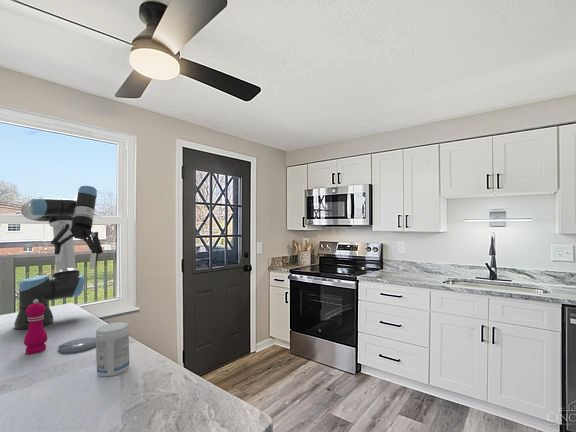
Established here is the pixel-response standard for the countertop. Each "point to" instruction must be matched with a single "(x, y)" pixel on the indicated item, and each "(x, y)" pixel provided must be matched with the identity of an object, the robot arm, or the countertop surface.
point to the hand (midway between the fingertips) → (75, 265)
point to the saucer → (77, 345)
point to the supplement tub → (112, 349)
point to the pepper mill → (35, 329)
